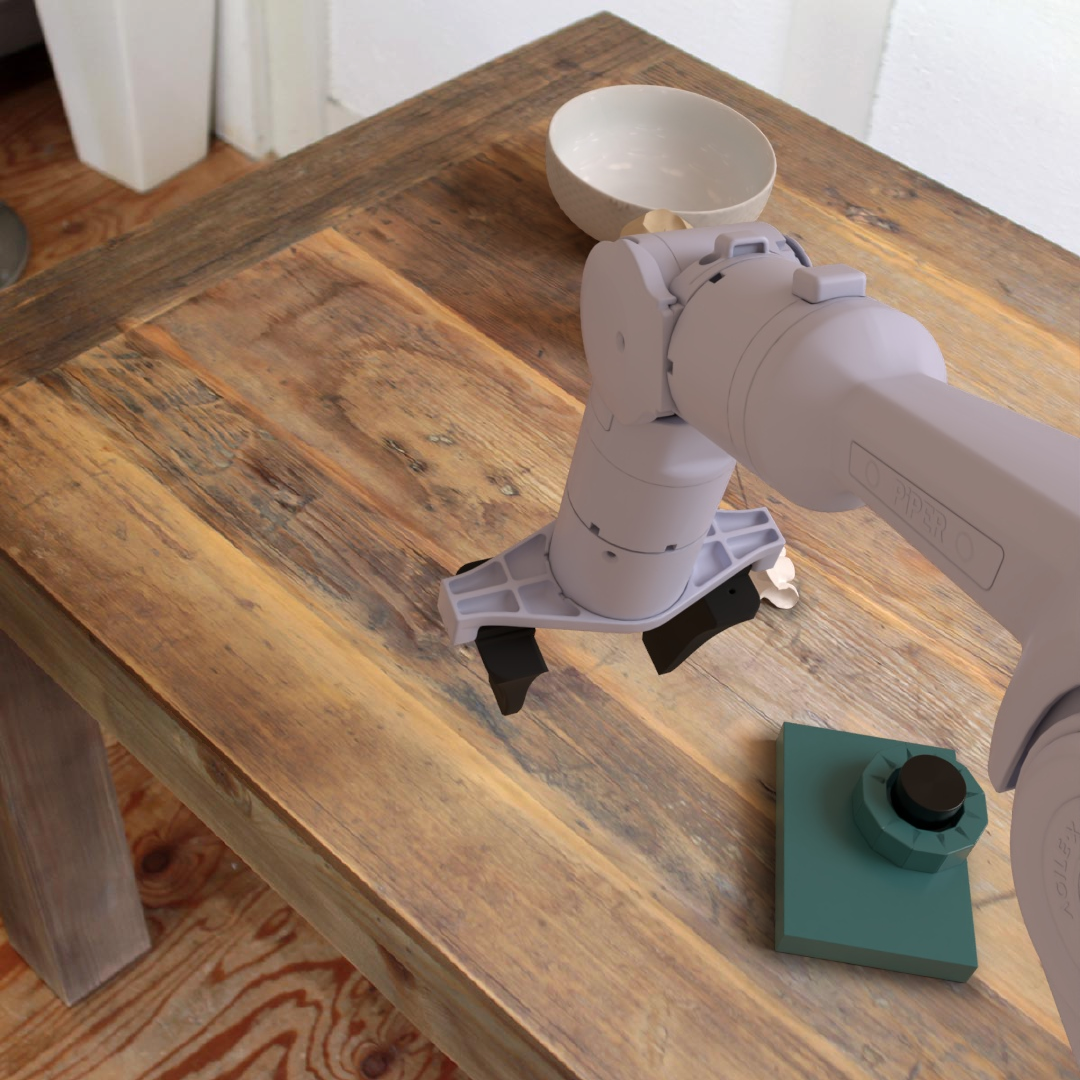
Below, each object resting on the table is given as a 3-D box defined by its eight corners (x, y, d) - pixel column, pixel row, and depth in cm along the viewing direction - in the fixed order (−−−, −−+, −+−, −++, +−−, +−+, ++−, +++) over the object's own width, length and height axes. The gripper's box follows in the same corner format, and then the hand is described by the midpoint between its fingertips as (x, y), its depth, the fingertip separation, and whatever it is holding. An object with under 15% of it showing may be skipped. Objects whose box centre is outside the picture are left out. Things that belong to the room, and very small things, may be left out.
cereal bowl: (491, 214, 100) (498, 130, 95) (630, 141, 110) (644, 60, 104) (666, 323, 94) (684, 238, 88) (798, 235, 103) (822, 154, 98)
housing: (977, 985, 62) (1005, 951, 59) (774, 951, 62) (793, 915, 60) (955, 769, 70) (978, 731, 68) (776, 739, 70) (792, 700, 68)
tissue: (753, 510, 82) (767, 465, 79) (804, 609, 77) (821, 565, 74) (668, 521, 80) (680, 476, 78) (715, 623, 75) (729, 579, 72)
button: (958, 835, 64) (970, 816, 63) (891, 824, 64) (902, 805, 63) (952, 779, 66) (964, 759, 65) (888, 768, 66) (898, 748, 65)
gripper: (763, 383, 54) (687, 571, 65) (425, 448, 50) (403, 639, 61) (844, 517, 51) (748, 693, 62) (487, 600, 46) (451, 775, 57)
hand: (581, 675), depth 61 cm, fingers open, 7 cm apart
